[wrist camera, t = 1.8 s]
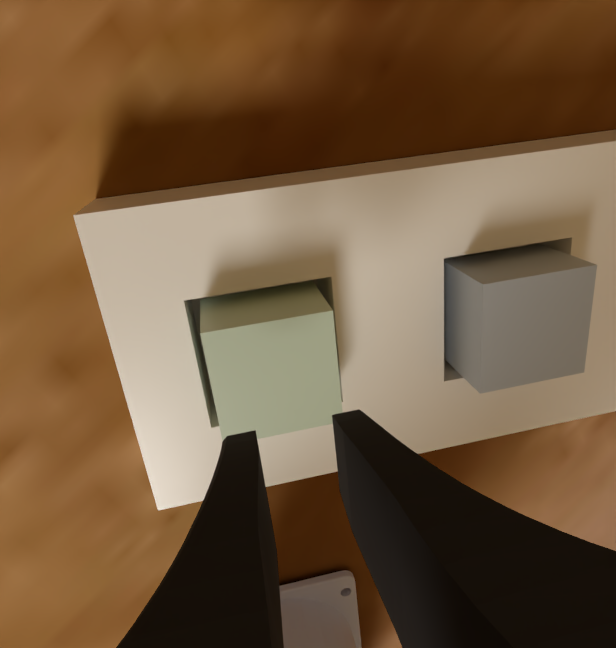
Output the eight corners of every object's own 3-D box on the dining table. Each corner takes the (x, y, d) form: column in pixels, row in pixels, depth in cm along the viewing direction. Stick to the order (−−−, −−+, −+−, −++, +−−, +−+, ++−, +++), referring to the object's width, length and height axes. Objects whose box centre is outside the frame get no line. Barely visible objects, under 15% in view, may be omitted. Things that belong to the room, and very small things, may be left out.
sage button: (323, 378, 18) (343, 421, 15) (220, 397, 17) (223, 445, 15) (312, 280, 16) (332, 310, 14) (200, 299, 16) (200, 333, 13)
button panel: (717, 344, 23) (785, 374, 21) (164, 456, 20) (158, 510, 17) (771, 108, 19) (865, 106, 17) (95, 198, 16) (73, 215, 13)
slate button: (532, 338, 19) (584, 372, 16) (441, 355, 18) (479, 393, 16) (539, 243, 17) (597, 264, 15) (440, 259, 17) (483, 284, 14)
